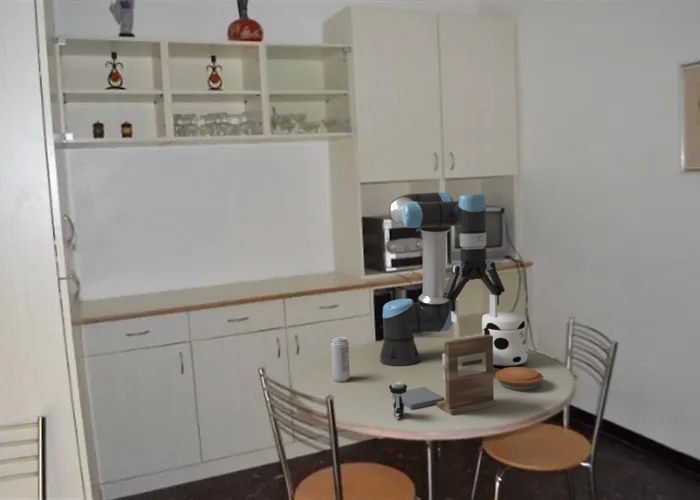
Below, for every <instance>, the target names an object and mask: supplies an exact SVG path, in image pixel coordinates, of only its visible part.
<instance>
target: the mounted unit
mask: <svg viewBox="0 0 700 500" xmlns="http://www.w3.org/2000/svg"><path fill="white" fill-rule="evenodd" d="M442 379H443V380H444V381H445V399H444V401H439V402H437V404H436V408H439V409H440V410H442V411H444V412H446V413H447V414H449V416H450V415H451V416H454V415H459V414H463V413H467V412H471V411H476V410H477V411H478V410H481V409H484V408H489V407H494V406H496V405H497V403H496V401H497V400H496V399H494V397H495V396H494V395H495V394H494V391H495V390H494V366H493V336H492V335H483V336H482V335H477V336H472V337H466V338H460V339H453V340H447V341H444V353H442Z"/></svg>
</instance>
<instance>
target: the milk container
mask: <svg viewBox="0 0 700 500" xmlns="http://www.w3.org/2000/svg"><path fill="white" fill-rule="evenodd" d="M483 335H492V336H493V367H499V368H509V367H520V366H522V365H523V364H525V363H526V362H527V359H528V355H529V350H528V349H529V348H528V345H527V342H526V341H527V340H526V319H525V315H523V314H522V313H517V312H512V311H511V312H510V311H497V317H492V316H490V312H488V313H485V314H483V315H482V318H481V336H483Z"/></svg>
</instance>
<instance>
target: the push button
mask: <svg viewBox="0 0 700 500" xmlns="http://www.w3.org/2000/svg"><path fill="white" fill-rule="evenodd" d="M388 388H389V392H390V393H391V394H392V393H393V394H395V399H394V402H393V403H392V405H393V406H392V407H393V412H394V418H395V419H396V420H399V419H401V418H402V416H405V405H404V403H402V396H401V394H404V393H405V392H406V390H407V388H408V386H407V384H405V383H404V382H403V381H401V380H397V381H392V382H391V383H390V385H388Z"/></svg>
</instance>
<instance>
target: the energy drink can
mask: <svg viewBox="0 0 700 500" xmlns="http://www.w3.org/2000/svg"><path fill="white" fill-rule="evenodd" d="M349 347H350V346H349V342H348V340H347V337H346V336H335V337H333V338H332V341H331V343H330V348H331V368H332V369H331V371H332V373H331V374H332V379H333V380H334V381H333V382H335V383H345V382H348V381H349V378H350V375H351V373H350V354H349V350H350V349H349Z"/></svg>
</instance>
